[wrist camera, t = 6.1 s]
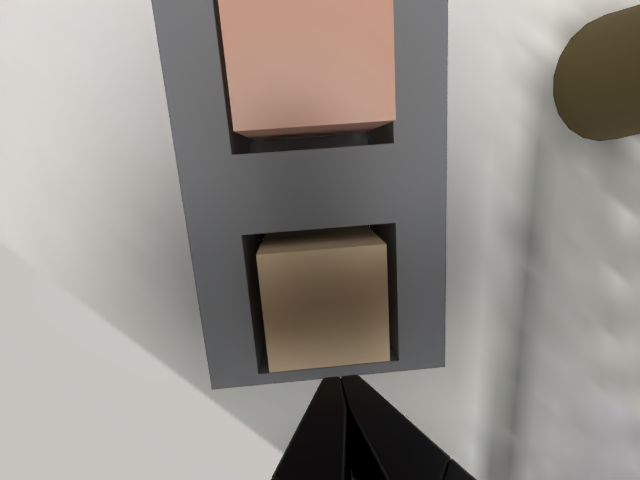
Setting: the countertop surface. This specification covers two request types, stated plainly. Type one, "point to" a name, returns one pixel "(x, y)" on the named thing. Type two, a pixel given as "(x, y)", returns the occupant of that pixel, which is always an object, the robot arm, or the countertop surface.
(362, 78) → the terracotta key
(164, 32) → the grey socket block
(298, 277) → the oak key
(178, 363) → the countertop surface
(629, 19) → the olive brown cylinder
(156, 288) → the countertop surface
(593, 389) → the countertop surface
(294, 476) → the robot arm
